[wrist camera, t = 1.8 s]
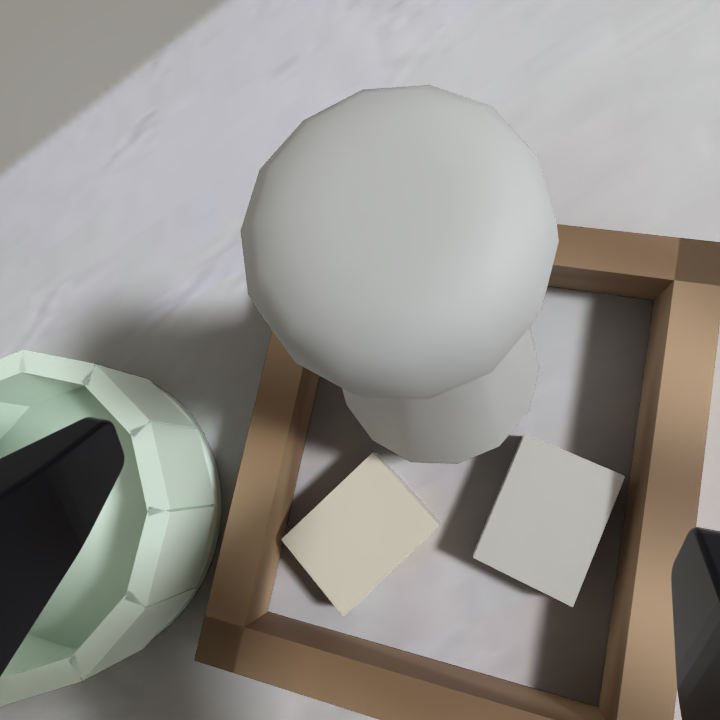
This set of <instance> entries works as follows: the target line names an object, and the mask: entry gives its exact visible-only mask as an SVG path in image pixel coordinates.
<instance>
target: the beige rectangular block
mask: <svg viewBox="0 0 720 720" xmlns="http://www.w3.org/2000/svg"><path fill="white" fill-rule="evenodd" d="M441 523H442V522H441V521H440V520H439V519H438V518H437V517H436V516H435V515H434V514H433V512H432V511H431V510H430V509H429V508H428V507H427V506H426V505H425V504H424V503H423V501H422V500H421V499H420V498H419V497H418V496H417V495H416V494H415V493H414V491H413V490H412V489H411V488H410V487H409V486H408V485H407V484H406V483H405V482H404V480H403V479H402V478H401V477H400V476H399V475H398V474H397V473H396V472H395V470H394V469H393V468H392V467H391V466H390V465H389V464H388V463H387V462H386V461H385V459H384V458H383V457H382V456H381V455H380V454H379V453H374V452H373V453H372V454H371V455H369V456H368V457H367V458H366V459H365V460H364V461H363V462H362V463H361V464H360V465H359V466H358V467H357V468H356V469H355V470H354V471H353V472H352V473H351V474H349V475H348V476H347V477H346V478H345V479H344V480H343V481H342V482H341V483H340V484H339V485H338V486H337V487H336V488H335V489H334V490H333V491H332V492H331V493H329V494H328V495H327V496H326V497H325V498H324V499H323V500H322V501H321V502H320V503H319V504H318V505H317V506H316V507H315V508H314V509H313V510H312V511H311V512H309V513H308V514H307V515H306V516H305V517H304V518H303V519H302V520H301V521H300V522H299V523H298V524H297V525H296V526H295V527H294V528H293V529H292V530H291V531H289V532H288V533H287V534H286V535H285V536H284V537H283V538H282V539H281V540H282V541H283V543H284V544H285V545H286V546H287V548H288V549H289V550H290V551H291V553H292V554H293V555H294V556H295V557H296V559H297V560H298V561H299V562H300V564H301V565H302V566H303V567H304V569H305V570H306V571H307V572H308V574H309V575H310V576H311V577H312V579H313V580H314V581H315V582H316V584H317V585H318V586H319V587H320V589H321V590H322V591H323V592H324V594H325V595H326V596H327V597H328V599H329V600H330V601H331V602H332V604H333V605H334V606H335V607H336V609H337V610H338V611H339V612H340V613H341V615H342V616H343V617H344V616H345V615H346V614H347V613H348V612H349V611H351V610H352V609H353V608H354V607H355V606H356V605H357V604H358V603H359V602H360V601H361V600H362V599H363V598H364V597H365V596H366V595H367V594H368V593H370V592H371V591H372V590H373V589H374V588H375V587H376V586H377V585H378V584H379V583H380V582H381V581H382V580H383V579H384V578H385V577H386V576H387V575H389V574H390V573H391V572H392V571H393V570H394V569H395V568H396V567H397V566H398V565H399V564H400V563H401V562H402V561H403V560H404V559H405V558H406V557H407V556H409V555H410V554H411V553H412V552H413V551H414V550H415V549H416V548H417V547H418V546H419V545H420V544H421V543H422V542H423V541H424V540H425V539H426V538H428V537H429V536H430V535H431V534H432V533H433V532H434V531H435V530H436V529H437V528H438V527H439V526H440V524H441Z"/></svg>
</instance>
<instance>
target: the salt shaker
mask: <svg viewBox="0 0 720 720" xmlns="http://www.w3.org/2000/svg"><path fill="white" fill-rule="evenodd" d="M241 238H242V246H243V255H244V263H245V271H246V280H247V288H248V294H249V296H250V298H251V299H252V301H253V303H254V304H255V306H256V308H257V309H258V311H259V312H260V314H261V315H262V316H263V318H264V319H265V321H266V322H267V323H268V325H269V326H270V328H271V329H272V330H273V332H274V333H275V335H276V336H277V338H278V339H279V340H280V342H281V343H282V345H283V346H284V347H285V349H286V350H287V352H288V353H289V354H290V356H291V357H292V359H293V360H294V361H295V363H297V364H299V365H301V366H303V367H304V368H306V369H308V370H310V371H312V372H314V373H315V374H317V375H319V376H321V377H323V378H325V379H326V380H328V381H330V382H332V383H334V384H336V385H337V386H339V387H341V388H342V390H343V393H344V397H345V401H346V404H347V406H348V408H349V409H350V410H351V412H352V413H353V414H354V416H355V417H356V418H357V420H358V421H359V422H360V424H361V425H362V426H363V428H364V429H365V431H366V432H367V433H368V435H369V436H370V437H371V439H372V440H373V441H375V442H377V443H378V444H380V445H382V446H384V447H385V448H387V449H389V450H391V451H392V452H394V453H396V454H398V455H399V456H401V457H403V458H405V459H406V460H408V461H410V462H420V463H446V464H458V463H461V462H463V461H465V460H468V459H470V458H473V457H475V456H477V455H480V454H482V453H485V452H487V451H489V450H492V449H494V448H497V447H499V446H500V445H501V444H502V443H503V442H504V440H505V439H506V438H507V437H508V436H509V434H510V433H511V432H512V431H513V430H514V428H515V427H516V426H517V425H518V424H519V423H520V421H521V420H522V419H523V418H524V417H525V415H526V414H527V413H528V412H529V411H530V406H531V402H532V398H533V394H534V390H535V386H536V382H537V377H538V373H539V369H540V365H539V360H538V356H537V352H536V348H535V344H534V340H533V336H532V332H531V328H530V326H531V325H532V324H533V322H534V321H535V320H536V318H537V316H538V315H539V313H540V311H541V310H542V306H543V302H544V298H545V294H546V290H547V286H548V282H549V278H550V274H551V270H552V266H553V263H554V259H555V255H556V251H557V247H558V243H559V238H558V230H557V221H556V218H555V214H554V211H553V207H552V203H551V200H550V196H549V193H548V189H547V186H546V182H545V179H544V175H543V171H542V168H541V164H540V161H539V157H538V155H537V154H536V153H535V152H534V151H533V149H532V148H531V147H530V146H529V145H528V144H527V143H526V142H525V141H524V140H523V139H522V138H521V137H520V135H519V134H518V133H517V132H516V131H515V130H514V129H513V128H512V127H511V126H510V125H509V124H508V123H507V121H506V120H505V119H504V118H503V117H502V116H501V115H500V114H499V113H498V112H497V111H496V110H495V109H494V108H493V107H492V106H489V105H486V104H483V103H480V102H478V101H475V100H472V99H469V98H466V97H463V96H460V95H457V94H454V93H451V92H448V91H445V90H442V89H440V88H437V87H434V86H431V85H424V86H409V87H395V88H380V89H366V90H361V91H359V92H357V93H355V94H354V95H352V96H350V97H348V98H346V99H344V100H342V101H340V102H338V103H336V104H334V105H332V106H330V107H329V108H327V109H325V110H323V111H321V112H319V113H317V114H315V115H313V116H311V117H309V118H307V119H305V120H304V121H303V122H302V123H301V124H300V125H299V126H298V127H297V128H296V129H295V131H294V132H293V133H292V134H291V135H290V136H289V137H288V138H287V140H286V141H285V142H284V143H283V144H282V145H281V146H280V147H279V149H278V150H277V151H276V152H275V153H274V154H273V155H272V156H271V158H270V159H269V160H268V161H267V162H266V163H265V164H264V165H263V167H262V168H261V169H260V170H259V173H258V176H257V180H256V183H255V186H254V189H253V193H252V196H251V199H250V202H249V206H248V209H247V212H246V215H245V219H244V222H243V225H242V228H241Z"/></svg>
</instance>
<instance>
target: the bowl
mask: <svg viewBox="0 0 720 720" xmlns="http://www.w3.org/2000/svg"><path fill="white" fill-rule="evenodd" d="M86 417H95V418H100V419H106V420H109V421H111V422H112V423H113V424H114V426H115V429H116V432H117V434H118V437H119V440H120V443H121V446H122V449H123V451H124V456H125V460H124V465H123V468H122V471H121V473H120V475H119V477H118V479H117V481H116V483H115V485H114V487H113V489H112V491H111V492H110V494H109V496H108V498H107V500H106V502H105V504H104V506H103V508H102V510H101V512H100V514H99V516H98V518H97V520H96V522H95V524H94V526H93V528H92V530H91V532H90V534H89V536H88V538H87V540H86V541H85V543H84V545H83V547H82V549H81V550H80V552H79V554H78V555H77V557H76V559H75V560H74V562H73V563H72V565H71V567H70V568H69V570H68V571H67V573H66V574H65V576H64V578H63V579H62V581H61V582H60V584H59V585H58V587H57V589H56V590H55V592H54V593H53V595H52V596H51V598H50V600H49V601H48V603H47V604H46V606H45V608H44V609H43V611H42V612H41V614H40V615H39V617H38V619H37V620H36V622H35V623H34V625H33V626H32V628H31V630H30V631H29V633H28V634H27V636H26V637H25V639H24V641H23V642H22V644H21V645H20V647H19V649H18V650H17V652H16V653H15V655H14V656H13V658H12V660H11V661H10V663H9V664H8V666H7V667H6V669H5V671H4V672H3V674H2V675H1V677H0V707H1V706H4V705H7V704H11V703H14V702H17V701H20V700H24V699H27V698H30V697H33V696H36V695H40V694H43V693H46V692H49V691H53V690H56V689H59V688H62V687H66V686H69V685H72V684H75V683H78V682H81V681H83V680H85V679H87V678H89V677H91V676H93V675H95V674H97V673H99V672H100V671H102V670H104V669H106V668H108V667H110V666H112V665H114V664H116V663H118V662H119V661H121V660H123V659H125V658H127V657H129V656H131V655H133V654H135V653H137V652H138V651H140V650H142V649H143V648H144V647H145V646H146V645H147V644H148V643H149V642H150V640H151V639H152V638H154V637H155V636H156V635H158V634H159V633H160V632H162V631H163V630H164V629H165V628H167V627H168V626H169V625H170V624H171V623H172V622H173V621H174V620H175V619H176V618H177V617H178V616H179V615H180V614H181V613H182V612H183V610H184V609H185V608H186V606H187V605H188V604H189V602H190V601H191V600H192V599H193V597H194V596H195V594H196V592H197V590H198V589H199V587H200V585H201V584H202V582H203V580H204V578H205V576H206V573H207V571H208V569H209V566H210V564H211V562H212V558H213V555H214V552H215V548H216V545H217V541H218V535H219V530H220V524H221V508H222V501H221V485H220V479H219V474H218V469H217V465H216V462H215V458H214V455H213V452H212V449H211V447H210V445H209V443H208V441H207V438H206V436H205V434H204V432H203V431H202V429H201V428H200V426H199V425H198V423H197V421H196V420H195V418H194V417H193V416H192V415H191V414H190V413H189V411H188V410H187V409H186V408H185V407H184V406H183V405H182V404H181V403H180V402H179V401H177V400H176V399H175V398H174V397H173V396H172V395H170V394H169V393H167V392H165V391H164V390H162V389H161V388H159V387H157V386H155V385H154V384H153V383H152V382H151V381H150V380H148V379H146V378H142V377H139V376H135V375H132V374H129V373H125V372H122V371H118V370H115V369H111V368H108V367H104V366H101V365H97V364H93V363H88V362H83V361H78V360H73V359H68V358H63V357H58V356H53V355H48V354H43V353H38V352H33V351H28V350H25V351H24V350H22V351H19V352H17V353H14V354H11V355H9V356H6V357H4V358H1V359H0V458H2V457H4V456H6V455H8V454H11V453H13V452H15V451H17V450H19V449H21V448H23V447H25V446H27V445H29V444H31V443H33V442H35V441H38V440H40V439H42V438H44V437H46V436H48V435H50V434H52V433H54V432H56V431H58V430H60V429H62V428H64V427H66V426H69V425H71V424H73V423H75V422H77V421H79V420H81V419H83V418H86Z"/></svg>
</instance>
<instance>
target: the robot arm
mask: <svg viewBox="0 0 720 720" xmlns="http://www.w3.org/2000/svg"><path fill="white" fill-rule="evenodd" d="M124 460H125V456H124V451H123V449H122V446H121V443H120V440H119V437H118V434H117V432H116V429H115V426H114V424H113V423H112V422H111V421H109V420H106V419H100V418H95V417H86V418H83V419H81V420H79V421H77V422H75V423H73V424H71V425H69V426H66V427H64V428H62V429H60V430H58V431H56V432H54V433H52V434H50V435H48V436H46V437H44V438H42V439H40V440H38V441H35V442H33V443H31V444H29V445H27V446H25V447H23V448H21V449H19V450H17V451H15V452H13V453H11V454H8V455H6V456H4V457H2V458H0V677H1V675H2V674H3V672H4V671H5V669H6V667H7V666H8V664H9V663H10V661H11V660H12V658H13V656H14V655H15V653H16V652H17V650H18V649H19V647H20V645H21V644H22V642H23V641H24V639H25V637H26V636H27V634H28V633H29V631H30V630H31V628H32V626H33V625H34V623H35V622H36V620H37V619H38V617H39V615H40V614H41V612H42V611H43V609H44V608H45V606H46V604H47V603H48V601H49V600H50V598H51V596H52V595H53V593H54V592H55V590H56V589H57V587H58V585H59V584H60V582H61V581H62V579H63V578H64V576H65V574H66V573H67V571H68V570H69V568H70V567H71V565H72V563H73V562H74V560H75V559H76V557H77V555H78V554H79V552H80V550H81V549H82V547H83V545H84V543H85V541H86V540H87V538H88V536H89V534H90V532H91V530H92V528H93V526H94V524H95V522H96V520H97V518H98V516H99V514H100V512H101V510H102V508H103V506H104V504H105V502H106V500H107V498H108V496H109V494H110V492H111V491H112V489H113V487H114V485H115V483H116V481H117V479H118V477H119V475H120V473H121V471H122V468H123V465H124ZM671 587H672V605H673V624H674V642H675V661H676V677H677V690H678V697H679V704H680V710H681V716H682V720H720V531H715V530H710V529H704V528H699V527H694V528H692V529H691V530H690V531H689V532H688V534H687V536H686V538H685V540H684V542H683V544H682V546H681V548H680V550H679V552H678V554H677V557H676V559H675V561H674V563H673V567H672V572H671Z"/></svg>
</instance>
